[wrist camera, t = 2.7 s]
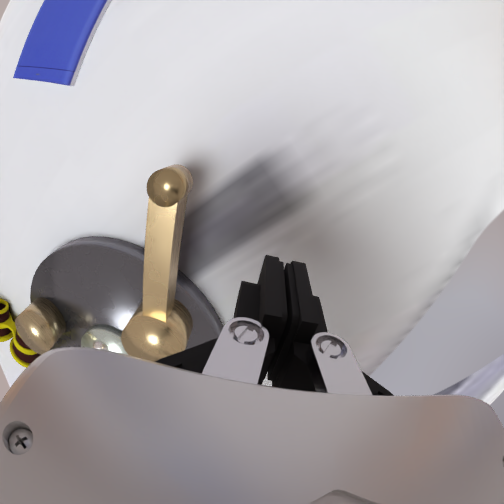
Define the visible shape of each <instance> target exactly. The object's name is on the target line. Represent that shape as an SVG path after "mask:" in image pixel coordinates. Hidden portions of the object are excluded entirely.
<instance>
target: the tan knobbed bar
mask: <svg viewBox="0 0 504 504" xmlns="http://www.w3.org/2000/svg"><path fill="white" fill-rule="evenodd" d="M192 186H193V178H192V175H191V173H190V171H189V170H188V169H187V168H186V167H184V166H182V165H171V166H168V167H166V168H163V169H160V170H158V171H156V172H154V173H153V174H152V175H151V176H150V178H149V180H148V182H147V193H148V196H149V202H148V212H147V224H146V236H145V251H144V272H143V301H142V302H141V304H140V305H139V307H138V308H137V310H136V311H135V313H134V314H133V316H132V317H131V319H130V320H129V322H128V323H127V325H126V326H125V328H124V329H123V331H122V334H121V341H122V345H123V347H124V349H125V351H126V352H127V354H128V355H130V356H134V357H138V358H141V359H145V360H149V361H153V362H155V361H157V360H159V359H161V358H164V357H167V356H170V355H172V354H175V353H178V352H181V351H184V350H185V348H186V345H187V343H188V340H189V337H190V334H191V332H192V328H193V320H192V316H191V314H190V312H189V311H188V309H187V308H186V307H185V306H184V305H183V304H182V303H181V302H179V301H178V300H176V299H175V292H176V281H177V272H178V263H179V254H180V246H181V238H182V230H183V223H184V216H185V209H186V202H187V196H188V193H189V192H190V191H191V189H192Z"/></svg>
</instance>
